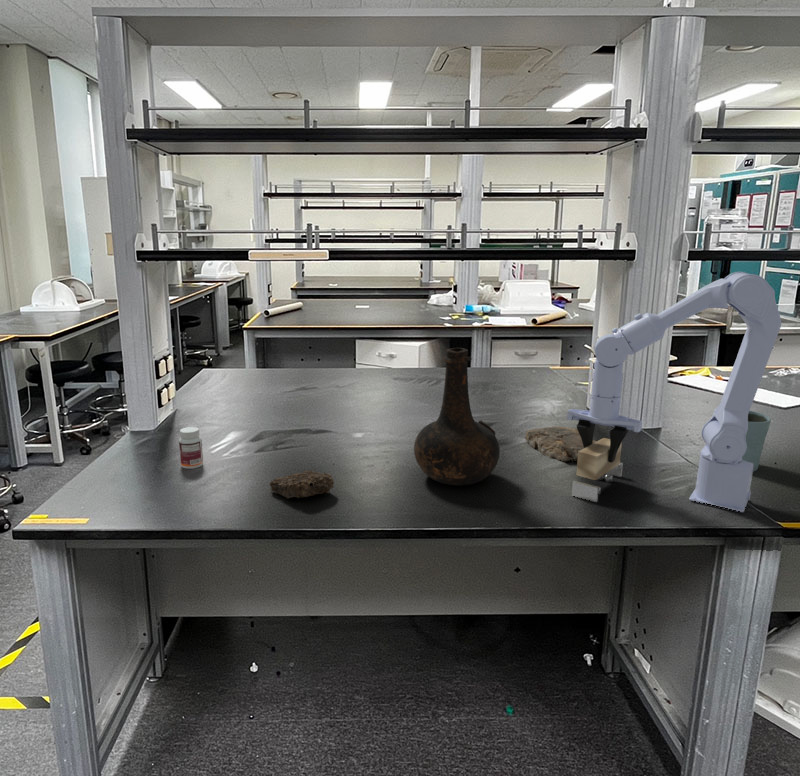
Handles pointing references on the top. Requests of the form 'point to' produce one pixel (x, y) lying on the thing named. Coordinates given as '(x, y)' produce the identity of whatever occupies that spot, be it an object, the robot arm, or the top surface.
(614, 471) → the grey blocks and balls
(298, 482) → the brown rock
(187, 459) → the pill bottle
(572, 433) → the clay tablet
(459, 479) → the glass bottle
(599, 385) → the robot arm
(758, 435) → the green ceramic planter
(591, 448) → the oak block
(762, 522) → the top surface
